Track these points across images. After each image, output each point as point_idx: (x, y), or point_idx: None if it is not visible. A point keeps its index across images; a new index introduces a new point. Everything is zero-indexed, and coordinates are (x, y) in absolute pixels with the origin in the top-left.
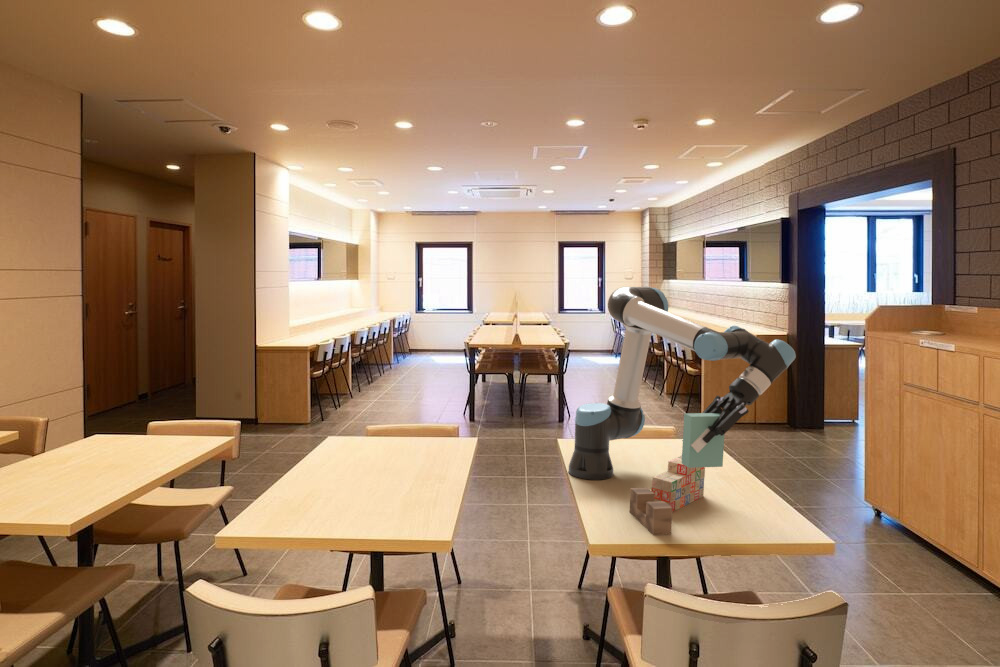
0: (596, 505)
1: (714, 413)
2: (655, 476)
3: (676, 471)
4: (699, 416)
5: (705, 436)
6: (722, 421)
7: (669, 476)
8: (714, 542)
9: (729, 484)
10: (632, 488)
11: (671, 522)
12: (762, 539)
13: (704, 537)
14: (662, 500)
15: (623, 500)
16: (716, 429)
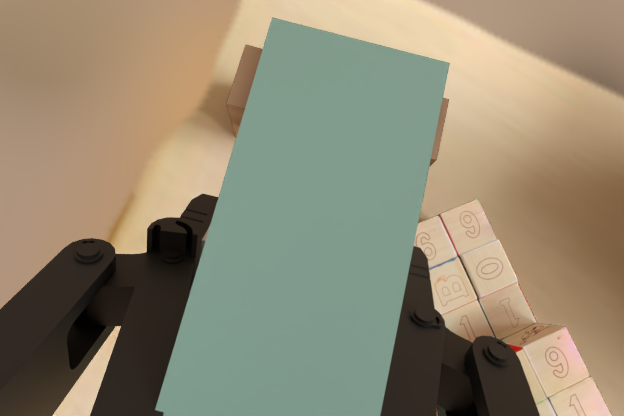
0: (500, 76)
1: None
2: (483, 216)
3: (504, 342)
4: (247, 116)
5: (209, 214)
6: (40, 328)
7: (470, 278)
8: (135, 214)
9: None
10: (444, 103)
11: (232, 123)
12: (80, 380)
13: (176, 212)
14: None
15: (517, 179)
16: (86, 239)
